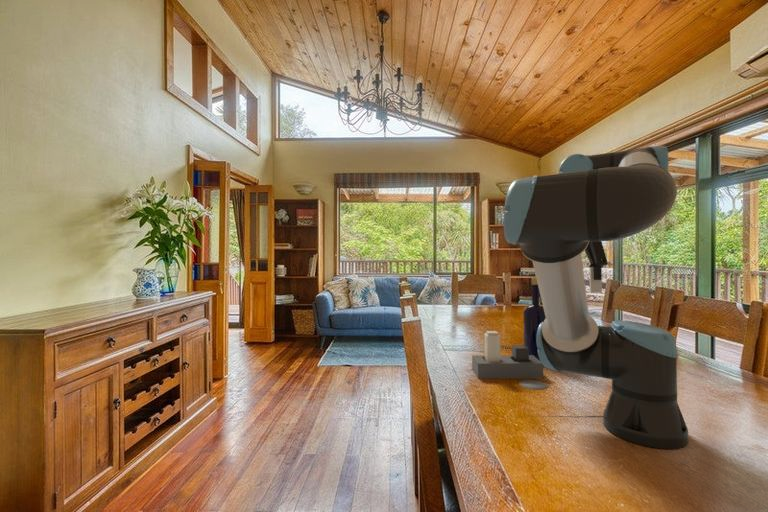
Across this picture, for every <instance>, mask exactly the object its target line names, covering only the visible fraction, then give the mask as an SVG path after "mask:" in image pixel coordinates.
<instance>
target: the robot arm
mask: <svg viewBox="0 0 768 512" xmlns="http://www.w3.org/2000/svg"><path fill="white" fill-rule="evenodd" d="M677 188H678V187H677V185H676V181H675V179H674V177H673V175H672V174H671V173H670V172H669V150H668V148H667V146H666V145H658V146H646V147H642V148H636V149H628V150H622V151H621V150H620V151H616V152H607V153H598V154H592V155H589V154H588V155H587V154H585V155H584V154H582V153H573V154H570V155H568V156H566V157H565V158H564V159H563V160H562V161H561V163H560V164H559V168H558V173H555V174H547V175H546V174H545V175H540V176H538V175H537V174H534V175H533V176H528V177H524V178H518V179H516V180H514V181H512V183H511V184H510V186H509V188H508V189H507V192H506V197H505V201H504V210H503V234H504V239H505V242H507V243H508V244H509V245H510V244H512V245H513V246H516V245H519V247H520V251H521V253H522V254H523V256H524V257H525V258H526V259H528V260H530V261H531V262H532V265H533V270H534V274H535V278H536V279H537V283H538V287H539V296H540V300H541V303H542V306H543V308H544V312H545V316H546V319H545V320H544V322H542V323H540V325H539V327H538V330H537V347H538V356H539V359H540V361H541V363H542V364H543V367H544V368H546V369H548V370H552V371H556V372H559V373H567V374H573V375H574V374H575V375H579V376H581V375H583V376H587V377H594V378H601V379H608V380H611V393H610V395H609V397H608V400H607V403H606V406H605V408H604V410H603V413H602V414H603V419H602V420H603V422H602V423H603V426H604V428H605V429H606V430H607V431H609V432H610V433H612V434H613V435H615V436H616V437H618V438H621V439H623V440H626V441H628V442H631V443H633V444H637V445H640V446H645V447H648V448H655V449H663V450H664V449H667V450H675V449H680V448H684V447H686V446H687V445H688V444H689V430H688V426H687V424H686V422H685V418H684V416H683V413H682V411H681V408H680V406H679V402H678V371H677V370H678V369H677V366H678V365H677V363H678V362H677V359H678V358H679V354H678V353H677V352H678V350H677V340H676V337H675V336H674V334H673V333H672V332H670V331H668V330H667V329H664V328H661V327H660V326H656V325H651V324H647V323H643V322H637V321H632V320H620V319H619V320H613V321H612V322H611V323H610V326H605V325H604V326H603V325H598V324H597V321H596V320H595V319H594V317H592V316H591V315H590V314H589V305H588V299H587V291H586V280H585V276H584V275H585V274H584V273H585V272H584V266H583V258H582V254H583V253H585V254H586V257H587V259H588V261H589V266H588V268H589V271H588V272H589V293H591V294H593V293H595V294H599V293H601V294H602V293H603V286H602V285H603V284H602V282H603V281H602V279H603V276H602V274H603V273H602V271H603V270H602V268H604V266H607V265H608V259H607V255H606V251H605V248H604V244H603V242H611V241H616V240H623V239H626V238H629V237H632V236H634V235H637V234H639V233H641V232H643V231H645V230H647V229H649V228H651V227H652V226H654V225H655V224H657V223H658V222H659V221H661V220H662V219H664V217H665V216H666V215H667V214H668V213H669V212H670V211H671V210H672V208H673V206H674V205H675V202H676V199H677V193H678V192H677V191H678V189H677Z"/></svg>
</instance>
